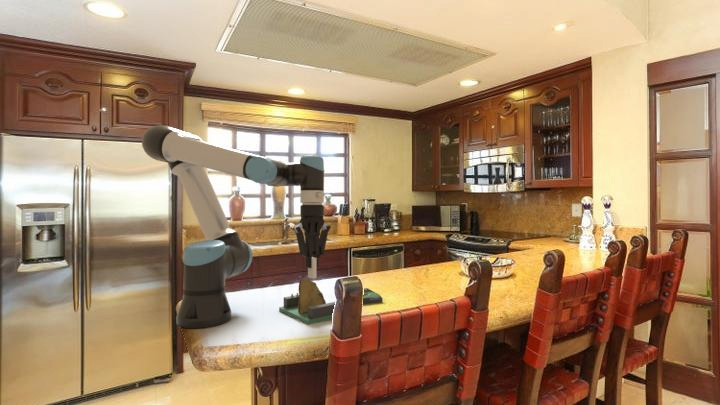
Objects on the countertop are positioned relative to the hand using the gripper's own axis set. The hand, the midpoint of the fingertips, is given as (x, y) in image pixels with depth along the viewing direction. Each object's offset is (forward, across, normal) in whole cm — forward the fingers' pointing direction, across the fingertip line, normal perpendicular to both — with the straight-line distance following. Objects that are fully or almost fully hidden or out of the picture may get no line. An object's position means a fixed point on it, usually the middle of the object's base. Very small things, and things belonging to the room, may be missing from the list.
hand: (312, 277), depth 118 cm
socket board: (+11, 0, 0) cm, 11 cm away
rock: (+10, 0, 0) cm, 10 cm away
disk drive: (+12, +24, +4) cm, 27 cm away
